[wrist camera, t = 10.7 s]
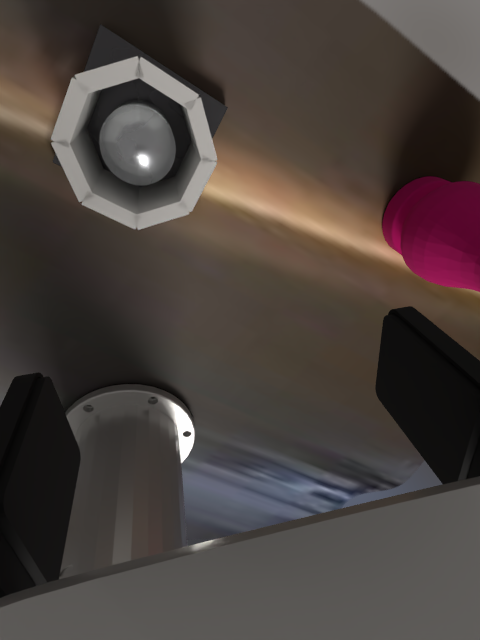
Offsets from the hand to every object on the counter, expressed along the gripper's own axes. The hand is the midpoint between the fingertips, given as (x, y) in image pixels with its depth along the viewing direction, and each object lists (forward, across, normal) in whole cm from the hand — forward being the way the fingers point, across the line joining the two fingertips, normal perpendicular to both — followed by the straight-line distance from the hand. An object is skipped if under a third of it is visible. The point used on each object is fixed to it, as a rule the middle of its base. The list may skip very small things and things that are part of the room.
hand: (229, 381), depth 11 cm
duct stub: (+20, +2, -5) cm, 21 cm away
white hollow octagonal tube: (+19, +2, -5) cm, 20 cm away
